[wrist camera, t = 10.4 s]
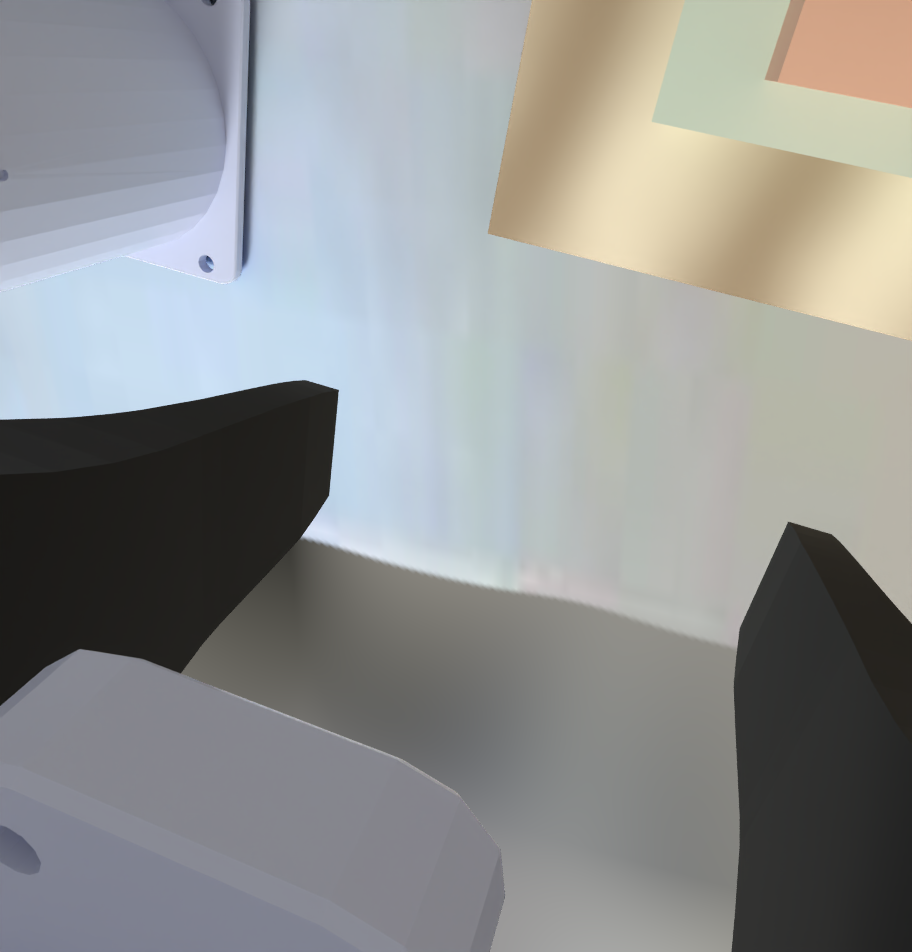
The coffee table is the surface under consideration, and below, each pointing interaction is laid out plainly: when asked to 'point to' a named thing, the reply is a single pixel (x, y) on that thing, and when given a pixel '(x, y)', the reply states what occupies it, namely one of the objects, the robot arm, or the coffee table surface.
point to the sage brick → (770, 93)
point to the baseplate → (687, 181)
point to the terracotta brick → (847, 49)
